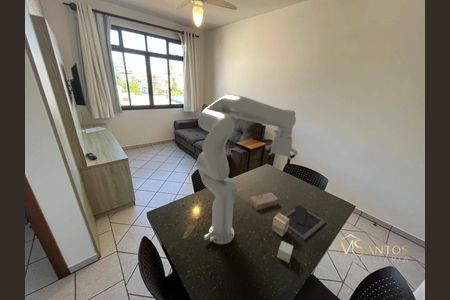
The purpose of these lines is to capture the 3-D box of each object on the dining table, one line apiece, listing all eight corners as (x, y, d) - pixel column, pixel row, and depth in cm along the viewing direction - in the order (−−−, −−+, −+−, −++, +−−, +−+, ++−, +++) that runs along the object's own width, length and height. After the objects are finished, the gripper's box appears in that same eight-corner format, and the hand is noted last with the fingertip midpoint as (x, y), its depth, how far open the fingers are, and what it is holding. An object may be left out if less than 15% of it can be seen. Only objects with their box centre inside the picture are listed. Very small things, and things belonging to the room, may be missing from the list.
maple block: (281, 236, 87) (284, 224, 84) (271, 229, 91) (273, 217, 88) (286, 231, 90) (289, 219, 87) (276, 224, 94) (278, 212, 91)
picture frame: (299, 207, 109) (277, 221, 97) (299, 204, 108) (277, 218, 97) (324, 223, 97) (303, 241, 85) (325, 220, 96) (304, 238, 85)
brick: (270, 197, 117) (271, 191, 115) (278, 204, 110) (279, 198, 108) (248, 202, 111) (249, 196, 109) (256, 211, 104) (257, 204, 102)
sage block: (288, 263, 74) (290, 254, 72) (277, 257, 77) (278, 248, 75) (291, 254, 78) (293, 246, 76) (280, 248, 81) (281, 240, 79)
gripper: (266, 132, 93) (261, 161, 100) (300, 138, 86) (293, 169, 92) (269, 129, 100) (265, 157, 106) (301, 135, 93) (295, 164, 99)
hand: (278, 162), depth 99 cm, fingers open, 9 cm apart
